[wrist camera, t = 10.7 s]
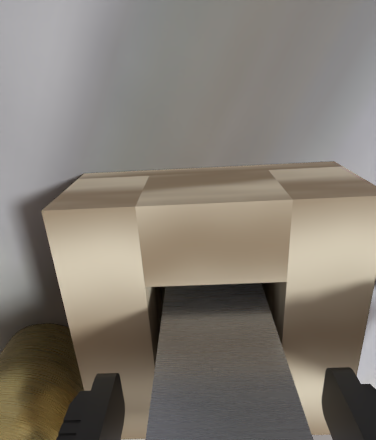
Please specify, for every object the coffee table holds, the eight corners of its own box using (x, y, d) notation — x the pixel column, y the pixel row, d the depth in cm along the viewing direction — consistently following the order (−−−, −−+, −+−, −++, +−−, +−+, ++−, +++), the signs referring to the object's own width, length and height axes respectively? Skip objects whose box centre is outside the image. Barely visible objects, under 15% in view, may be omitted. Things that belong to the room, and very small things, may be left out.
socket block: (84, 173, 16) (41, 210, 12) (333, 161, 16) (391, 195, 11) (117, 360, 21) (96, 439, 16) (311, 354, 21) (345, 434, 16)
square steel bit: (169, 254, 17) (124, 598, 6) (250, 251, 17) (365, 597, 6) (175, 318, 18) (148, 687, 7) (248, 316, 18) (336, 687, 7)
